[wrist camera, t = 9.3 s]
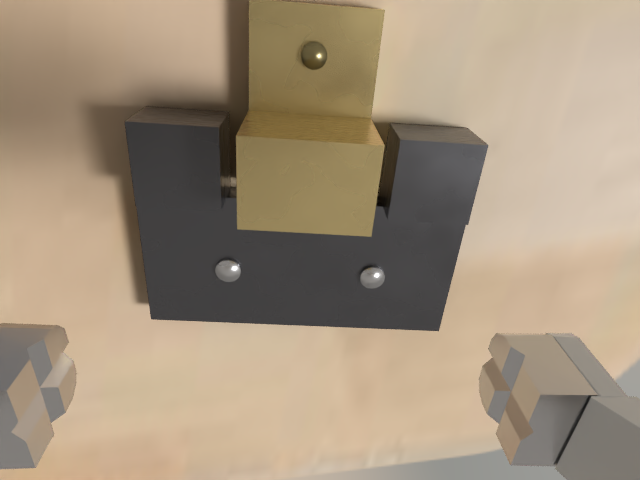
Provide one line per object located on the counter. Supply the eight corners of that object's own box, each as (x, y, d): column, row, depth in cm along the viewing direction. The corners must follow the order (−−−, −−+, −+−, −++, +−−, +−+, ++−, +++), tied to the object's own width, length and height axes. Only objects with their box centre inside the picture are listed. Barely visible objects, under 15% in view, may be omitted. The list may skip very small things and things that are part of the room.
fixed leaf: (157, 305, 24) (142, 337, 22) (134, 105, 19) (110, 120, 17) (433, 316, 25) (445, 349, 23) (478, 128, 20) (500, 146, 18)
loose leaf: (251, 180, 21) (237, 229, 17) (252, -2, 18) (234, -1, 13) (358, 186, 21) (371, 236, 17) (380, 9, 18) (404, 13, 13)
